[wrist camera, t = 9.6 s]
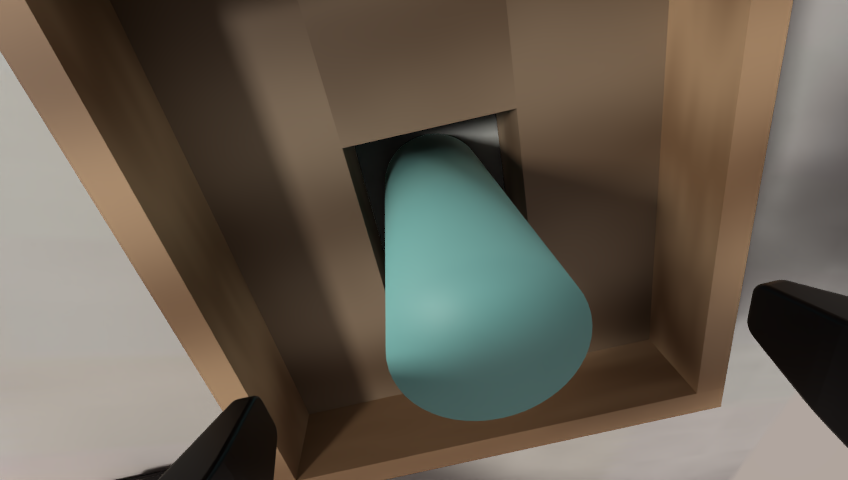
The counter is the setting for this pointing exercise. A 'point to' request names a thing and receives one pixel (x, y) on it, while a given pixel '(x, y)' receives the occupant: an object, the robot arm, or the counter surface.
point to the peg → (472, 290)
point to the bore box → (351, 209)
